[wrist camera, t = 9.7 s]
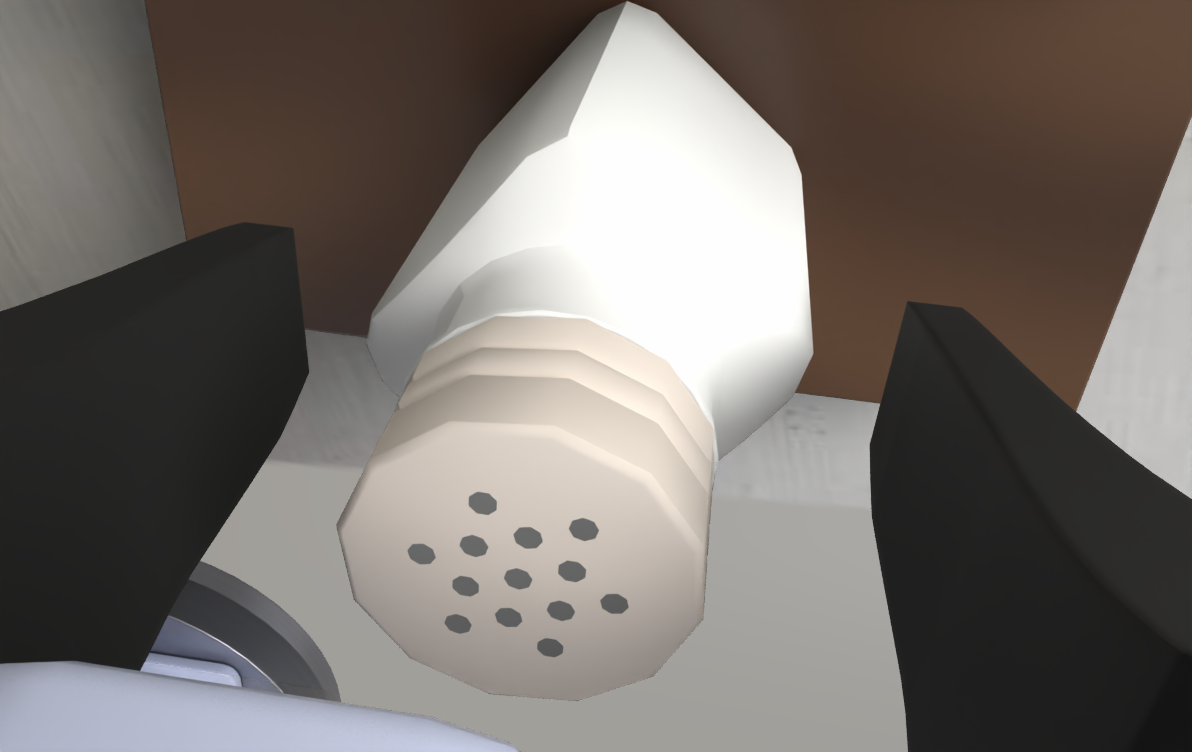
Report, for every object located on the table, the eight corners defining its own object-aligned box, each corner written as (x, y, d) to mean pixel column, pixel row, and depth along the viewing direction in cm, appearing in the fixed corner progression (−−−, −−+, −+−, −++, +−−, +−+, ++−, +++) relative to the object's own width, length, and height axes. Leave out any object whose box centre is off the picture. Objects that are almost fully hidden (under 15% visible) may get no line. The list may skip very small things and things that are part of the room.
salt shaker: (640, 312, 18) (543, 787, 10) (464, 157, 17) (203, 558, 9) (816, 159, 16) (861, 600, 8) (631, -27, 15) (482, 281, 7)
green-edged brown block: (1030, 328, 21) (1127, 568, 15) (271, 236, 22) (98, 427, 17) (1225, -242, 16) (1493, -200, 10) (202, -319, 17) (-93, -324, 11)
